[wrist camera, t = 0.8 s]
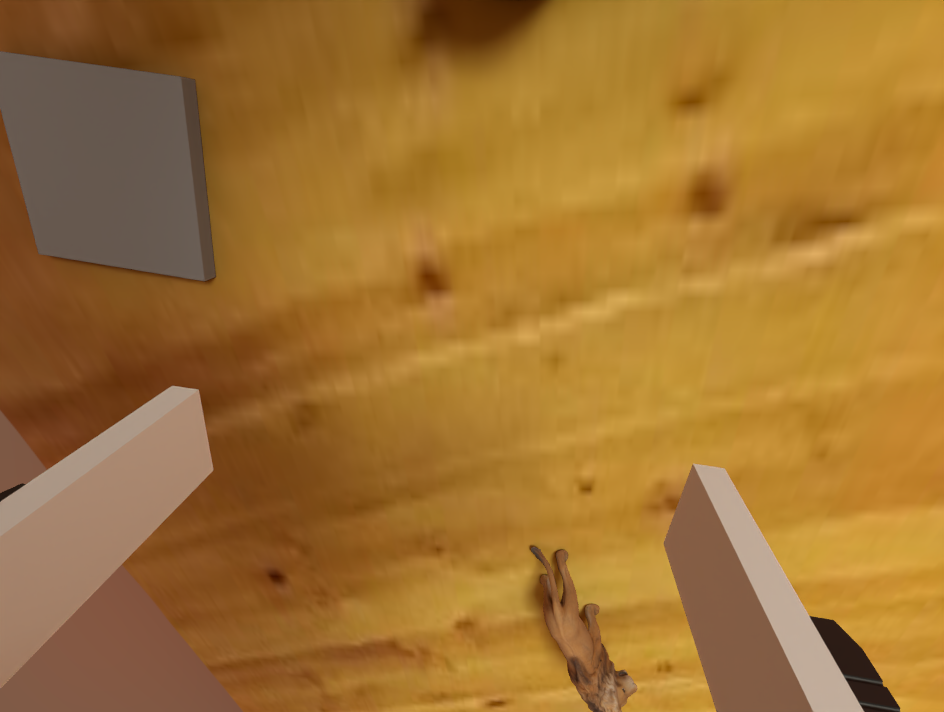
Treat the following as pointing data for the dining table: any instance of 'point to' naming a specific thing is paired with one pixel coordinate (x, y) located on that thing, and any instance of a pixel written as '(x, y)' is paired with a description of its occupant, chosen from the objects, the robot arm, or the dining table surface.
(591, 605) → the lion figurine
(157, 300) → the dining table surface
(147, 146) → the slate board
